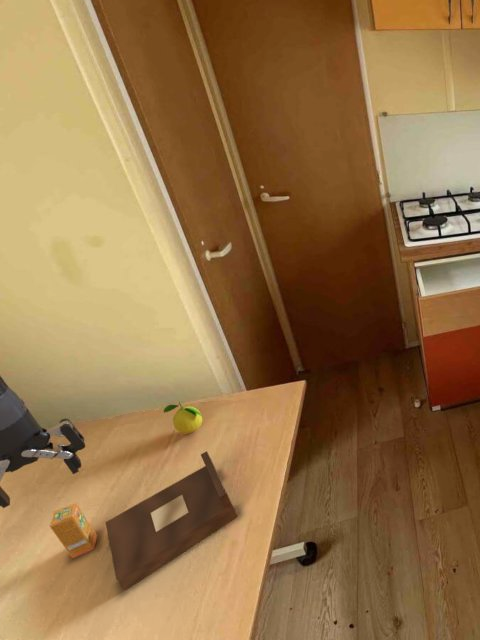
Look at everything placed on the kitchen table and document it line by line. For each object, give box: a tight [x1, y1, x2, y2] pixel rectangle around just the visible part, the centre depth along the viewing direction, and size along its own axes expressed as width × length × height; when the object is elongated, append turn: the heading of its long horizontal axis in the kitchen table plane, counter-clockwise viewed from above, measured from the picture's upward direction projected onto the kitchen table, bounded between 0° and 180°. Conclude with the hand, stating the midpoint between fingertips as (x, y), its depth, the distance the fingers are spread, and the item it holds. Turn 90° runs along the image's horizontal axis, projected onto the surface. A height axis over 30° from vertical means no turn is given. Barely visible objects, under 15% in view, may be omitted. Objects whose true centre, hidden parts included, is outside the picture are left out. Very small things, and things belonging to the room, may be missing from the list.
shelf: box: [105, 451, 239, 591], centre depth 83 cm, size 18×14×8 cm
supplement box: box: [49, 502, 98, 559], centre depth 79 cm, size 3×4×10 cm
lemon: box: [163, 400, 203, 434], centre depth 103 cm, size 7×6×10 cm
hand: (42, 486), depth 74 cm, fingers open, 8 cm apart
